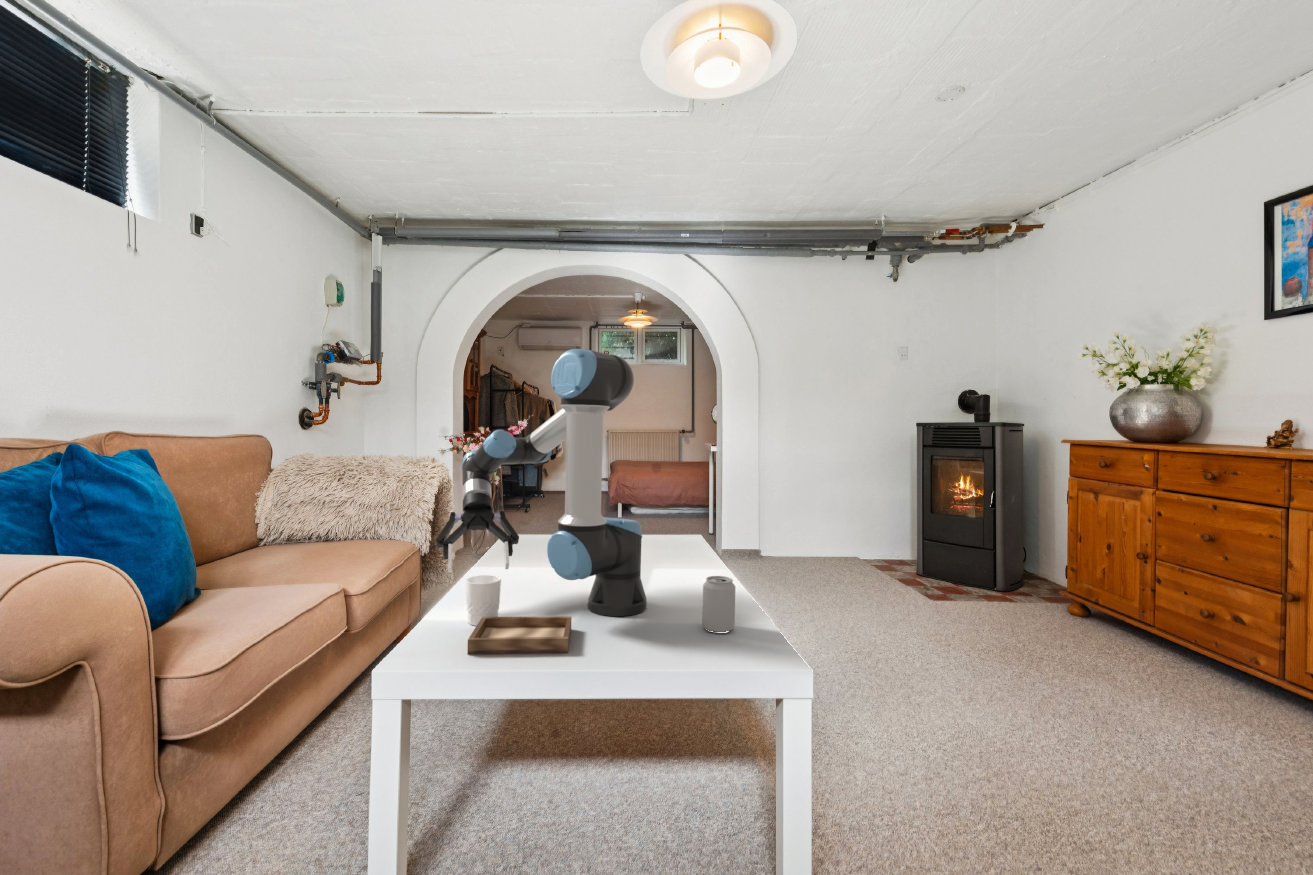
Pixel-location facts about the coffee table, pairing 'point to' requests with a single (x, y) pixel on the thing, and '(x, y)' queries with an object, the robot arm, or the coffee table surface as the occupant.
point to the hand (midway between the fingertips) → (478, 568)
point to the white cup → (482, 597)
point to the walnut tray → (521, 635)
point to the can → (718, 604)
